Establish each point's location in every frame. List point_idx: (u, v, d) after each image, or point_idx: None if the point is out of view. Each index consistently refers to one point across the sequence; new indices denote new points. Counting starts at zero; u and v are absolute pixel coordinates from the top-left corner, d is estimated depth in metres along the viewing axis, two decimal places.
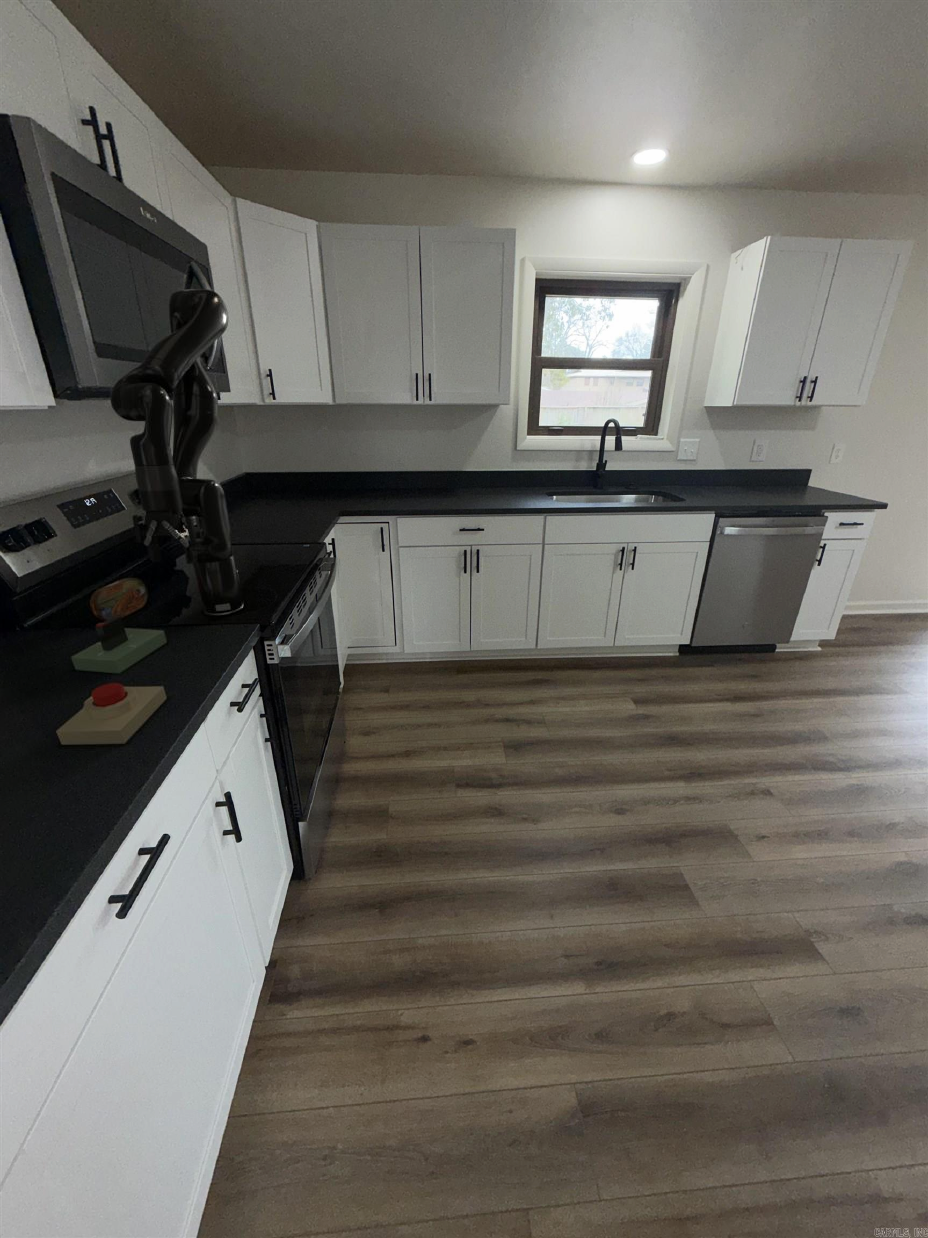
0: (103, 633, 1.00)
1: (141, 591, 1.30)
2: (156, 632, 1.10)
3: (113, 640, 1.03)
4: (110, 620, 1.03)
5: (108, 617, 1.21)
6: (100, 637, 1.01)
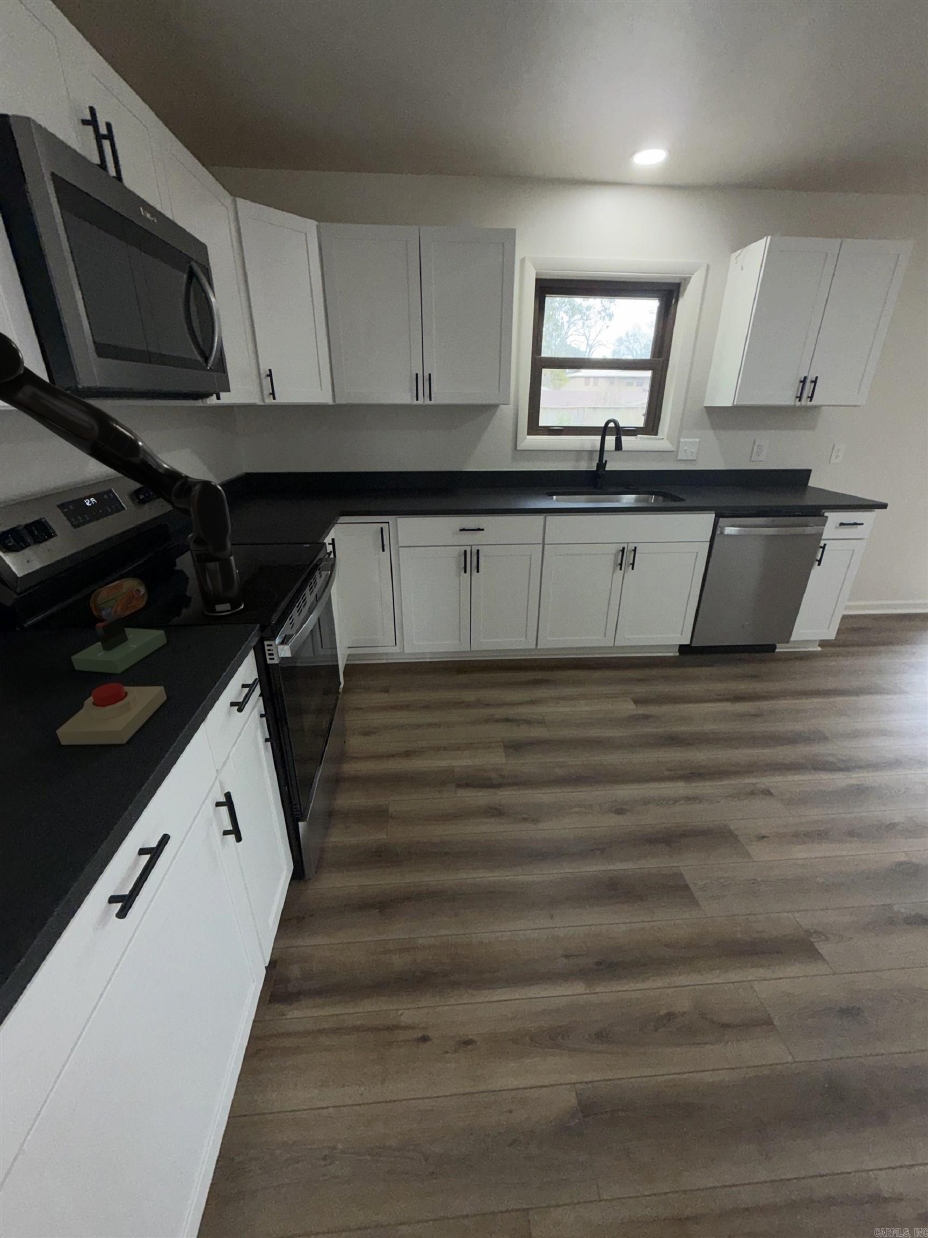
0: (103, 633, 1.00)
1: (140, 591, 1.30)
2: (156, 632, 1.10)
3: (113, 640, 1.03)
4: (110, 620, 1.03)
5: (108, 617, 1.21)
6: (100, 637, 1.01)
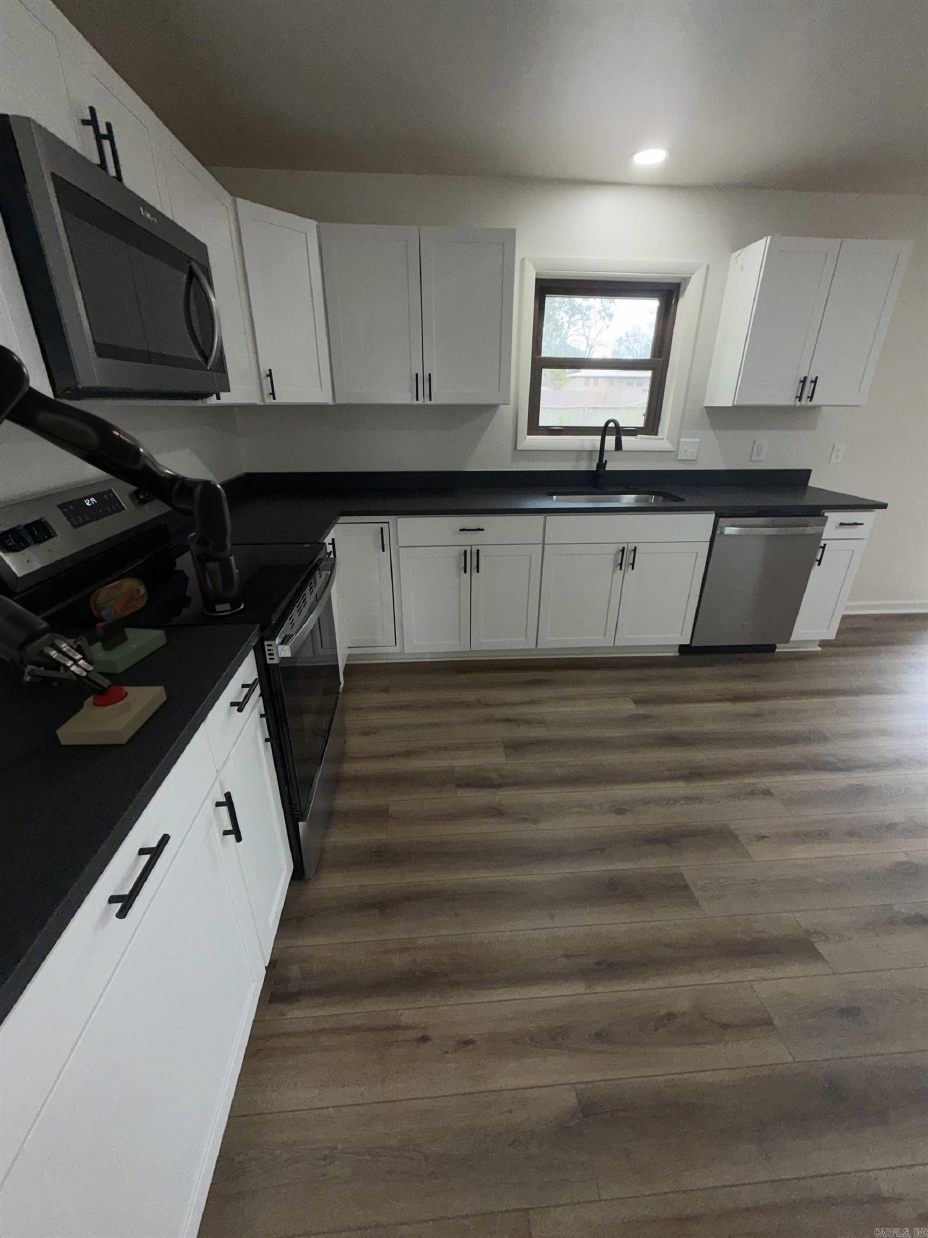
0: (103, 633, 1.00)
1: (140, 591, 1.30)
2: (156, 632, 1.10)
3: (113, 640, 1.03)
4: (110, 620, 1.03)
5: (108, 617, 1.21)
6: (100, 637, 1.01)
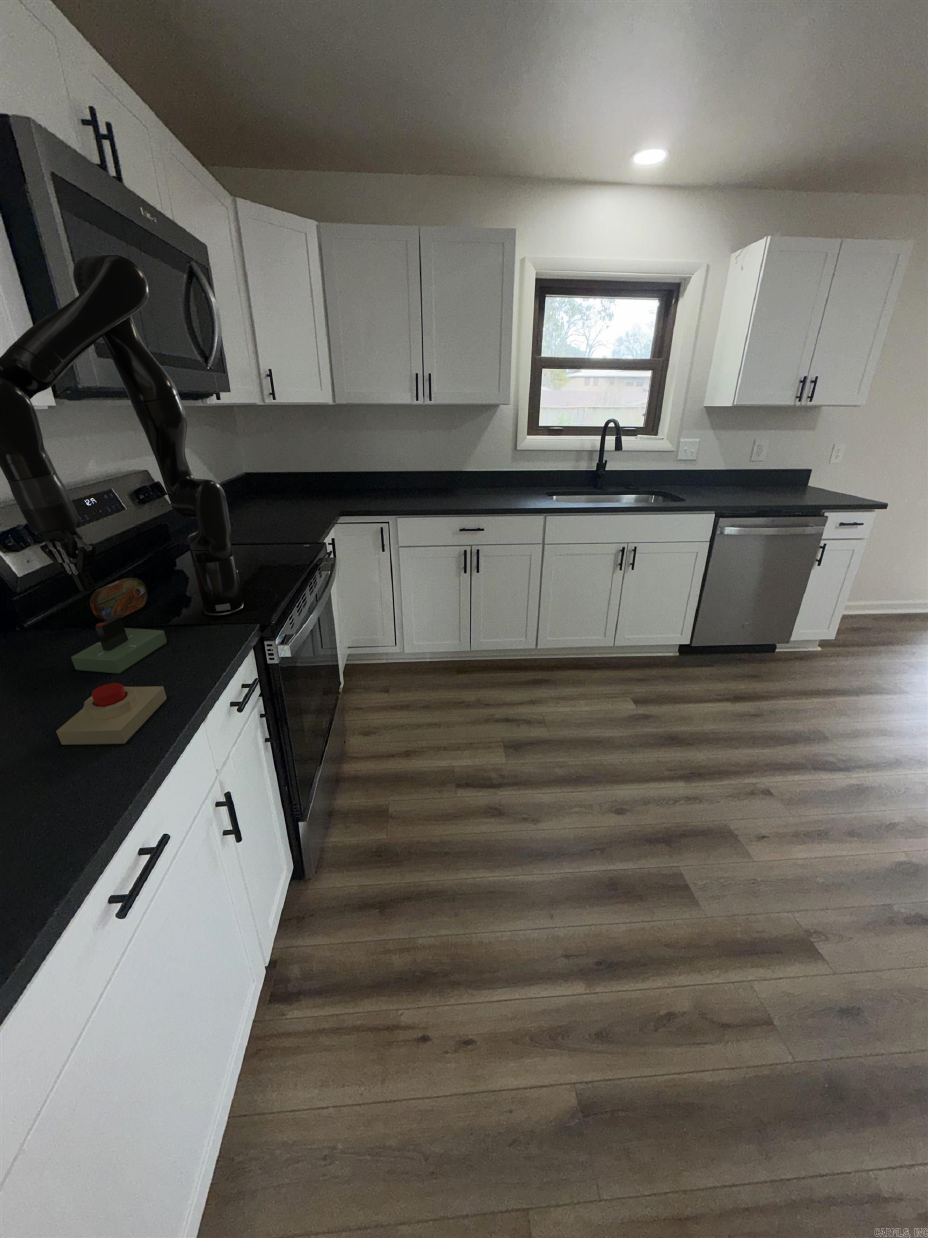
0: (103, 633, 1.00)
1: (140, 591, 1.30)
2: (156, 632, 1.10)
3: (113, 640, 1.03)
4: (110, 620, 1.03)
5: (108, 617, 1.21)
6: (100, 637, 1.01)
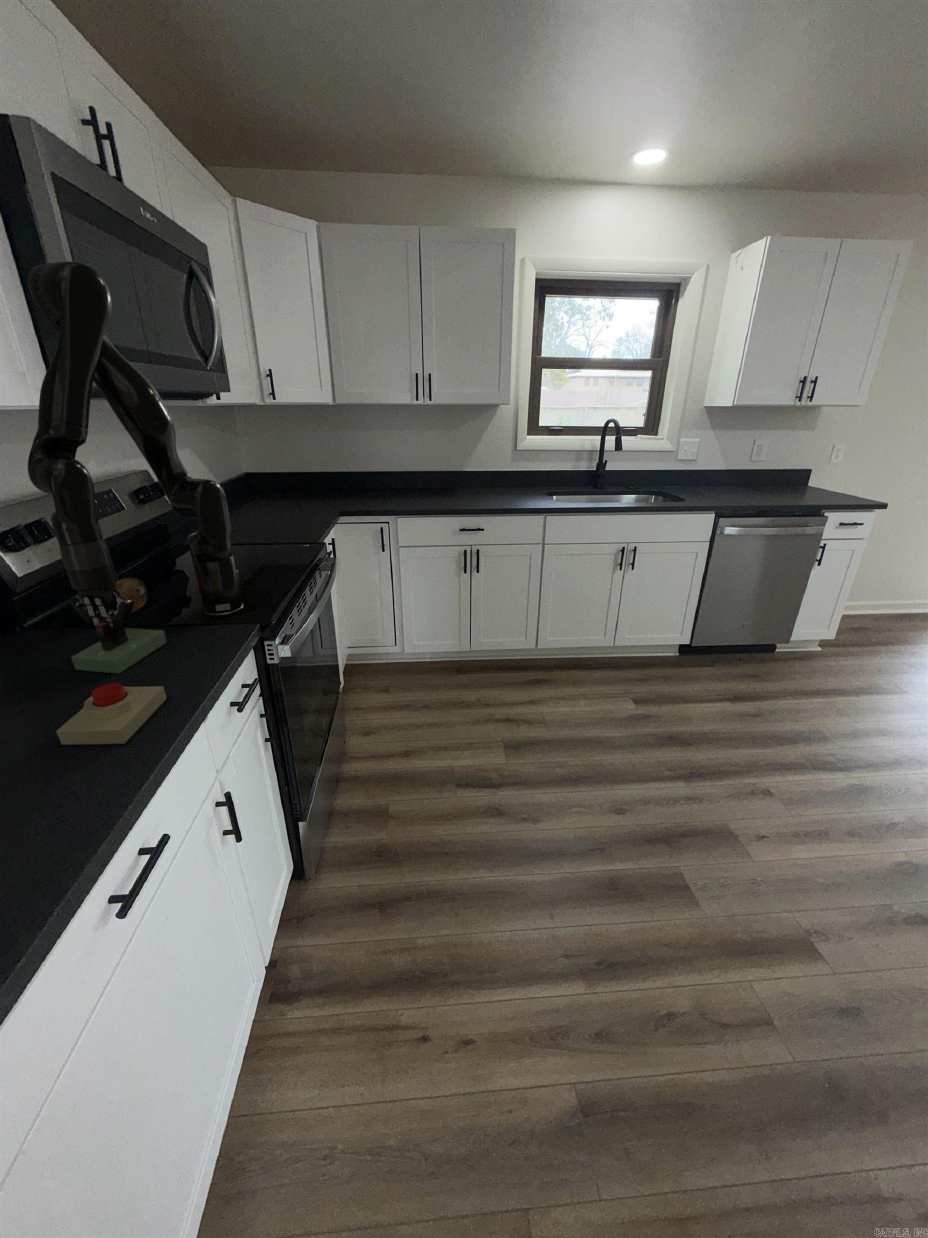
0: (103, 633, 1.00)
1: (140, 591, 1.30)
2: (156, 632, 1.10)
3: None
4: None
5: None
6: (100, 637, 1.01)
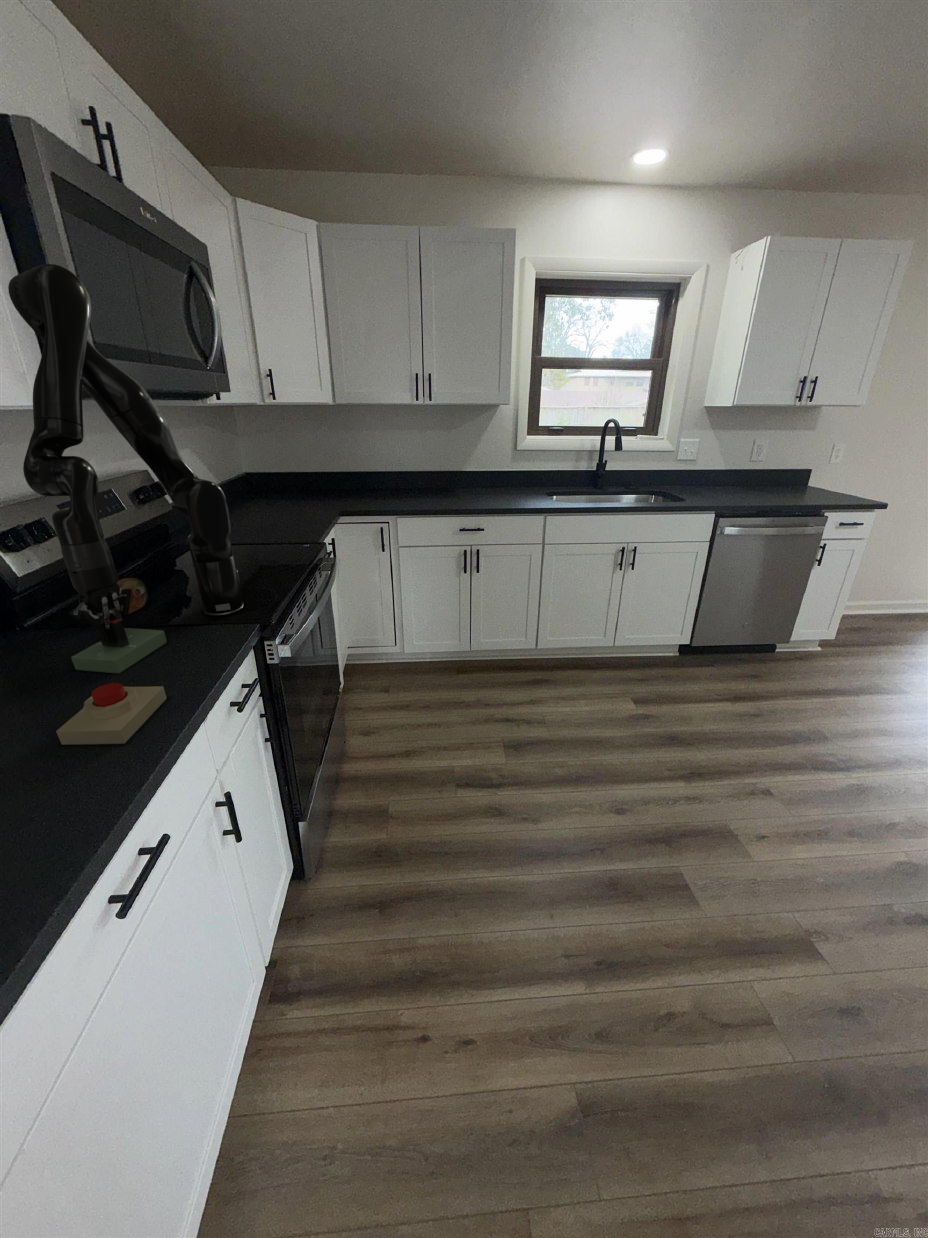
0: (123, 627, 1.03)
1: (140, 591, 1.30)
2: (156, 632, 1.10)
3: None
4: None
5: None
6: (121, 633, 1.02)
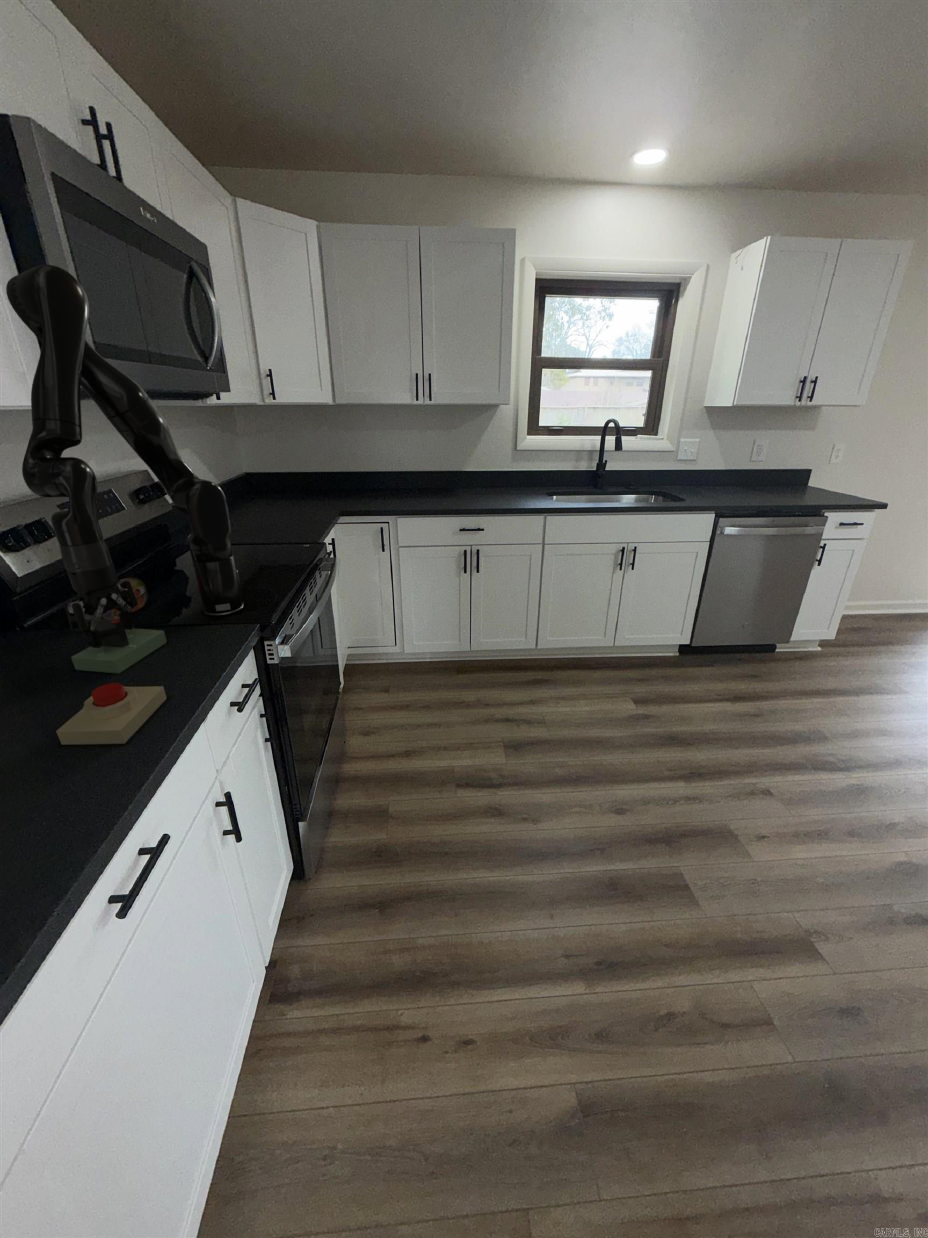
0: (123, 627, 1.03)
1: (140, 591, 1.30)
2: (156, 632, 1.10)
3: None
4: (105, 620, 1.02)
5: (108, 617, 1.21)
6: (121, 633, 1.02)
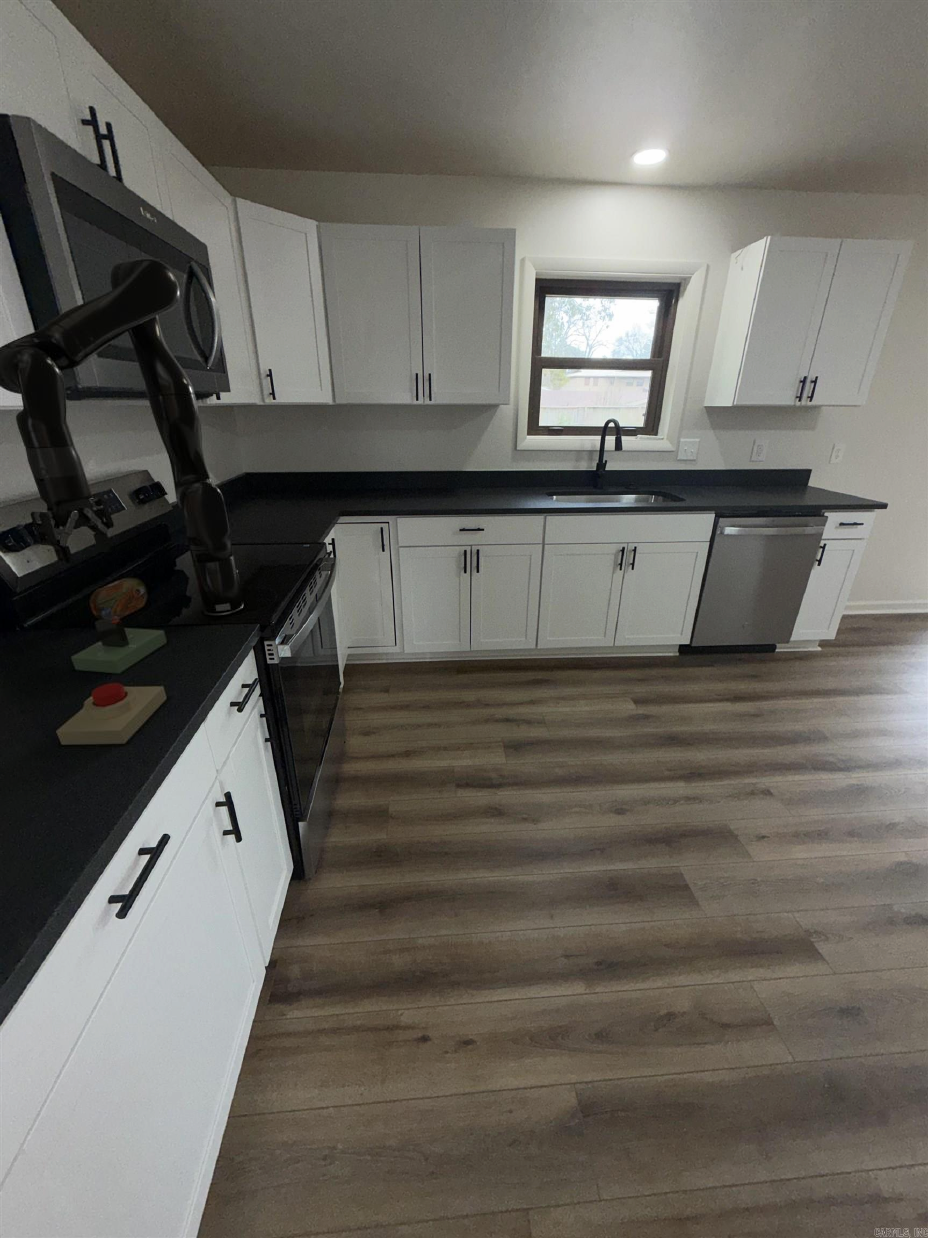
0: (123, 627, 1.03)
1: (140, 591, 1.30)
2: (156, 632, 1.10)
3: None
4: (105, 620, 1.02)
5: (108, 617, 1.21)
6: (121, 633, 1.02)
